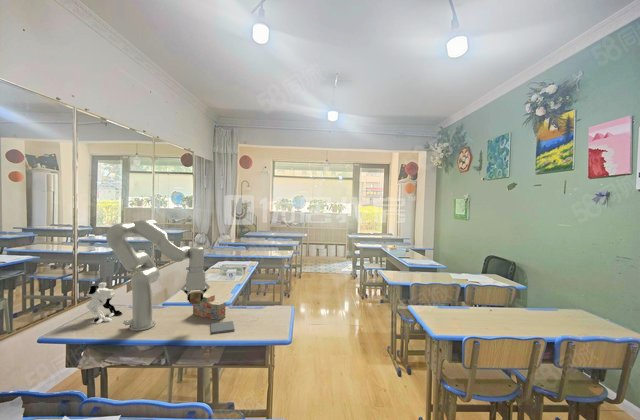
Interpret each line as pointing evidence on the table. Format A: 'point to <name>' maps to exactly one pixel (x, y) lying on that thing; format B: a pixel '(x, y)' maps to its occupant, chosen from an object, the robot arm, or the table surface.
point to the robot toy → (102, 302)
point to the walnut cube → (195, 297)
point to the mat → (222, 327)
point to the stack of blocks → (210, 307)
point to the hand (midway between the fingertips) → (195, 300)
